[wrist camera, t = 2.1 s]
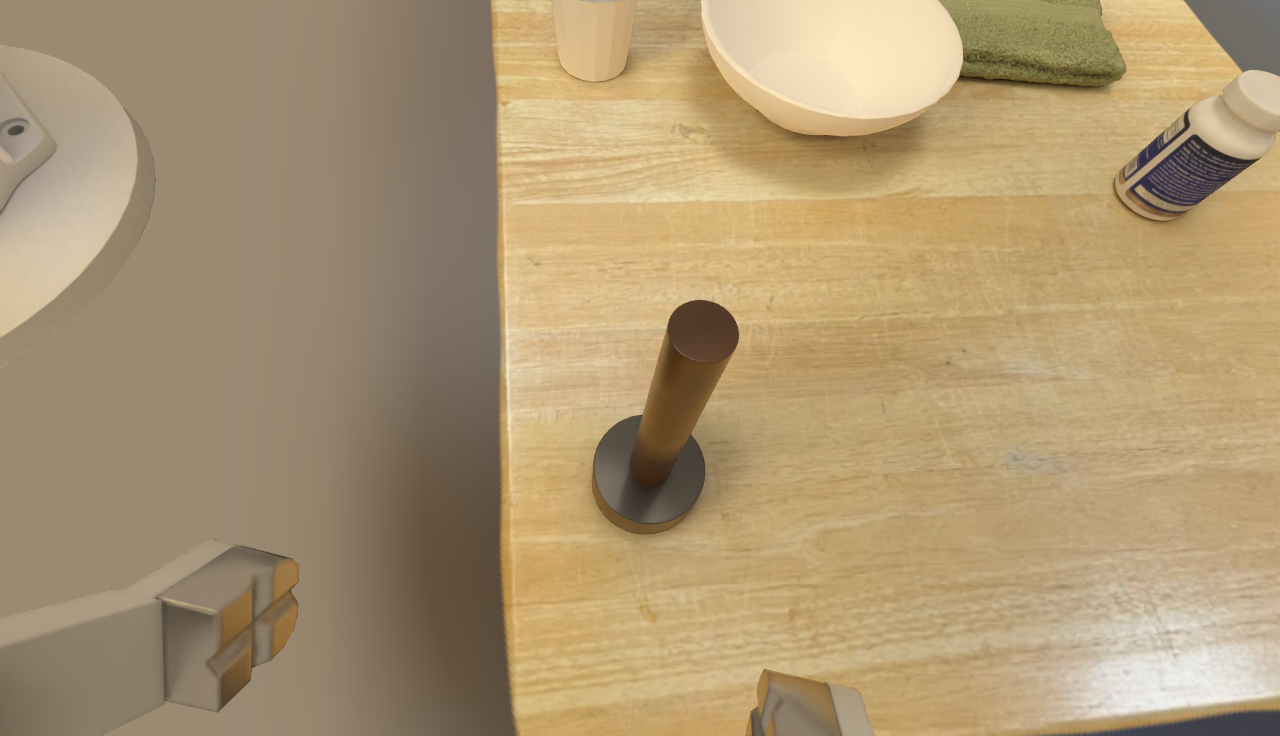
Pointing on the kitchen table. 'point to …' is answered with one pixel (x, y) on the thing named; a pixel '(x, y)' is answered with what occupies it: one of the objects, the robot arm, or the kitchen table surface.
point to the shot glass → (593, 36)
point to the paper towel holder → (666, 426)
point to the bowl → (835, 60)
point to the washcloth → (1036, 41)
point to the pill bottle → (1203, 148)
